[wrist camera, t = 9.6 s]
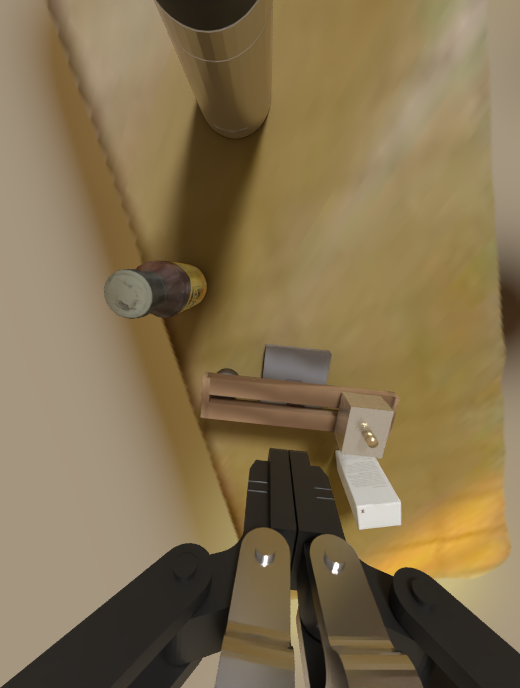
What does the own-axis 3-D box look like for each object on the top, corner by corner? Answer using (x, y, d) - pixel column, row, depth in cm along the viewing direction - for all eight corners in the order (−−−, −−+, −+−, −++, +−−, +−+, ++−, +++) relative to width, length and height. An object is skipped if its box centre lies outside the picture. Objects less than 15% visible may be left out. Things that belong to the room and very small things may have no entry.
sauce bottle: (183, 313, 43) (114, 349, 24) (159, 277, 42) (67, 285, 22) (218, 291, 42) (177, 312, 23) (196, 254, 41) (132, 242, 21)
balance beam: (216, 338, 44) (203, 355, 36) (379, 356, 44) (405, 377, 36) (211, 406, 47) (199, 437, 39) (363, 423, 47) (384, 456, 39)
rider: (338, 386, 38) (356, 415, 30) (375, 390, 38) (402, 420, 30) (330, 427, 39) (345, 465, 32) (365, 431, 39) (388, 469, 32)
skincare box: (336, 469, 50) (357, 530, 38) (334, 449, 49) (355, 506, 37) (371, 465, 49) (402, 526, 38) (369, 445, 48) (401, 501, 37)
